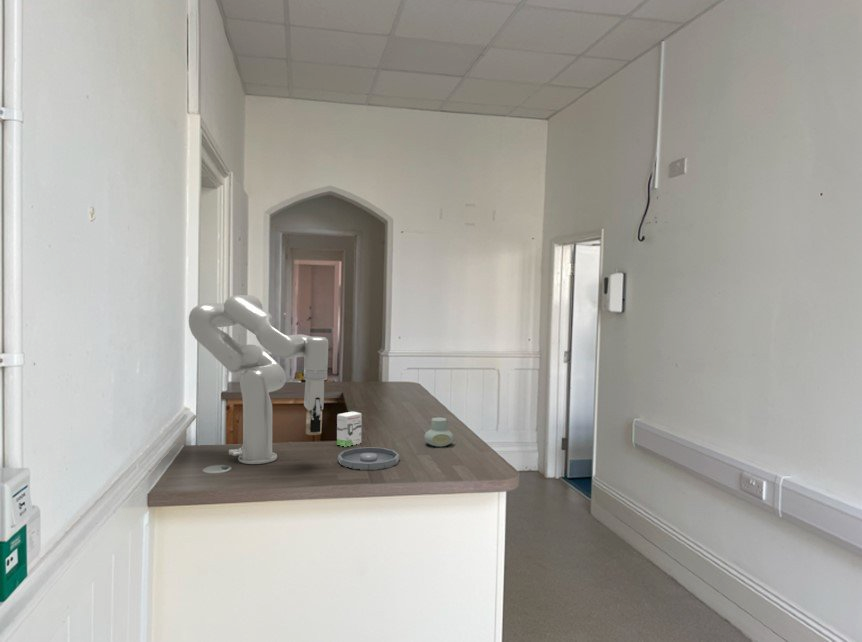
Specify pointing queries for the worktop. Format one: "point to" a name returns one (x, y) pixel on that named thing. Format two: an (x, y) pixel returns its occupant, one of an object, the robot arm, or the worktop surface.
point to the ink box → (349, 428)
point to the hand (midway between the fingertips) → (313, 429)
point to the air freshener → (438, 433)
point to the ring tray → (368, 458)
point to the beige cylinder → (308, 419)
